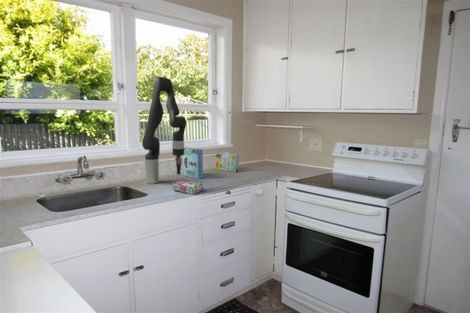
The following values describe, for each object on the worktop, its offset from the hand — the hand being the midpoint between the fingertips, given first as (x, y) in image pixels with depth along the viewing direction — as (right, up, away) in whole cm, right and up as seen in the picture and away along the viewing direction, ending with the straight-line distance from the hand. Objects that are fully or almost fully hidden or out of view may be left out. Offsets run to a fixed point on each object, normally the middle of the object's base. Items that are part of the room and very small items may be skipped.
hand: (178, 174), depth 200 cm
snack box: (+30, -1, +71) cm, 77 cm away
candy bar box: (0, -7, +1) cm, 7 cm away
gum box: (+4, -5, +42) cm, 43 cm away
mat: (+4, -10, +4) cm, 12 cm away
